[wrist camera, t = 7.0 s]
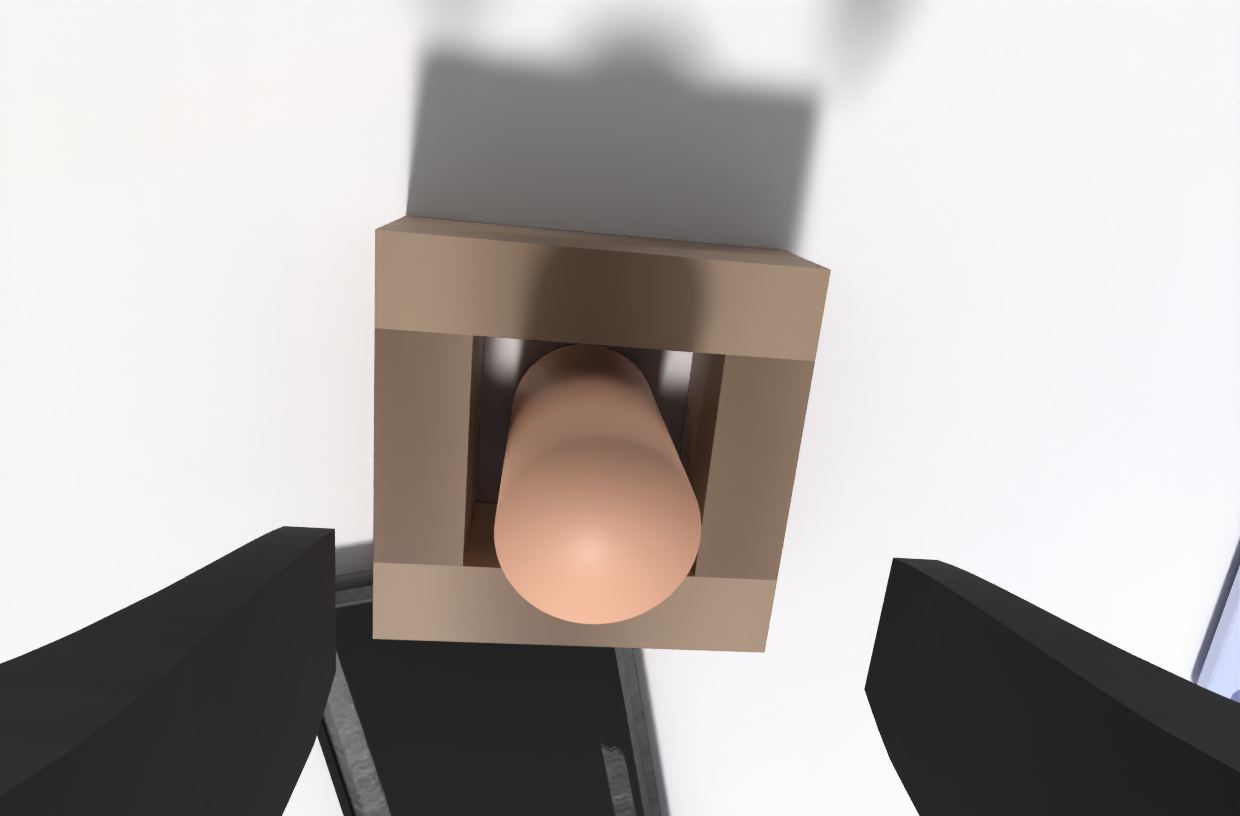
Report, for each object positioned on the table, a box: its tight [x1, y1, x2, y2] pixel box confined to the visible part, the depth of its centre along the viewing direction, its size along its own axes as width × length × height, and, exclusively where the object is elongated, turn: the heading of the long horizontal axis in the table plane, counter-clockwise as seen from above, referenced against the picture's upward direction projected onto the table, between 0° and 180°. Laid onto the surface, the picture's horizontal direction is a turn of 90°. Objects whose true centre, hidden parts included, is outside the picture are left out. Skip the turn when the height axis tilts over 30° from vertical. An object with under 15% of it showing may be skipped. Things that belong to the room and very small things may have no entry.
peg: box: [494, 344, 701, 624], centre depth 15 cm, size 3×3×6 cm
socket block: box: [373, 216, 831, 652], centre depth 17 cm, size 8×8×3 cm
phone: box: [317, 570, 661, 816], centre depth 21 cm, size 8×1×15 cm
